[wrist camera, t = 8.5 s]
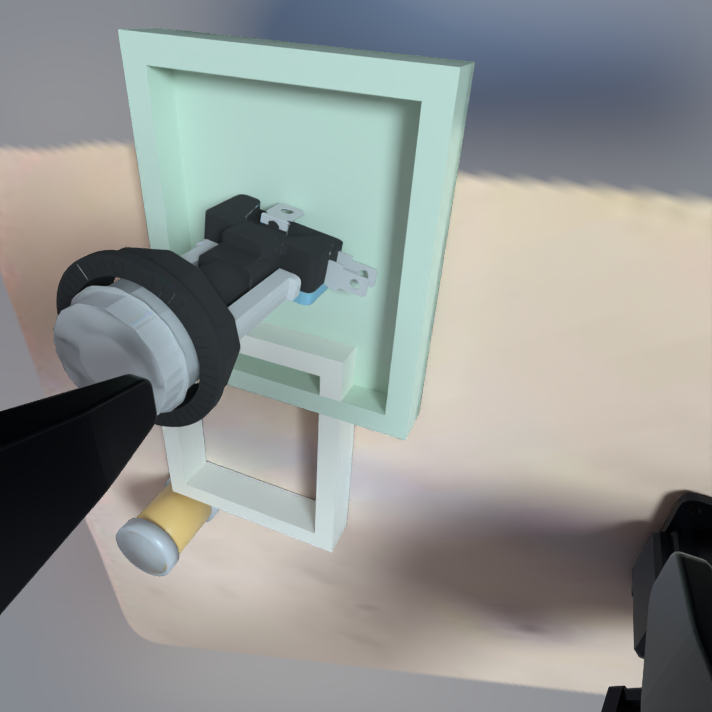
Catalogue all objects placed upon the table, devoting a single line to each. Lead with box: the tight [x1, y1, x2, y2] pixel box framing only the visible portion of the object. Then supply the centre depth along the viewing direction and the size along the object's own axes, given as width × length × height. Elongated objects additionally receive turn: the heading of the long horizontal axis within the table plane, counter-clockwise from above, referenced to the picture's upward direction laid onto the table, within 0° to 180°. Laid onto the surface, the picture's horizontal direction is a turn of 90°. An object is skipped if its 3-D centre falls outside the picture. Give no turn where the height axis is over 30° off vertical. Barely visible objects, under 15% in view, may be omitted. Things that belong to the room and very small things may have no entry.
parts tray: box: [118, 28, 475, 440], centre depth 22 cm, size 12×14×2 cm
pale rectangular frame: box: [162, 321, 356, 553], centre depth 28 cm, size 10×12×2 cm
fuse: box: [116, 478, 220, 576], centre depth 33 cm, size 4×4×5 cm
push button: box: [53, 194, 378, 427], centre depth 18 cm, size 7×5×10 cm
